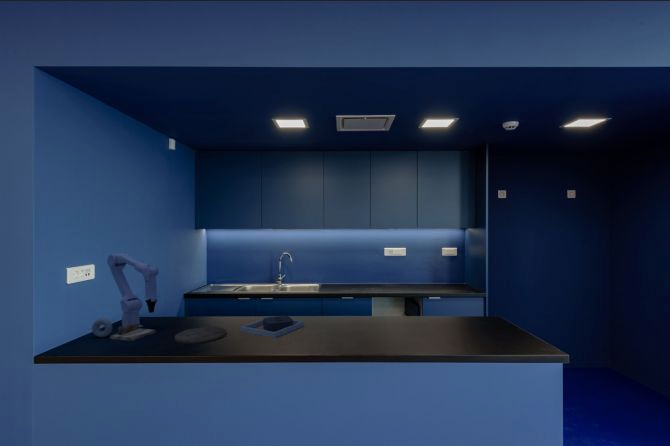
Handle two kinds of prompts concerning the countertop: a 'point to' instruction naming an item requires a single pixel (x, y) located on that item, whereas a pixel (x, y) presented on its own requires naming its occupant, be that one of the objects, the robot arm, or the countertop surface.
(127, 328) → the stool leg
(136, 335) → the stool seat
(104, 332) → the donut
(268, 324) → the streaming box
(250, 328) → the tray
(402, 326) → the countertop surface
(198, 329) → the trivet
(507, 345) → the countertop surface
